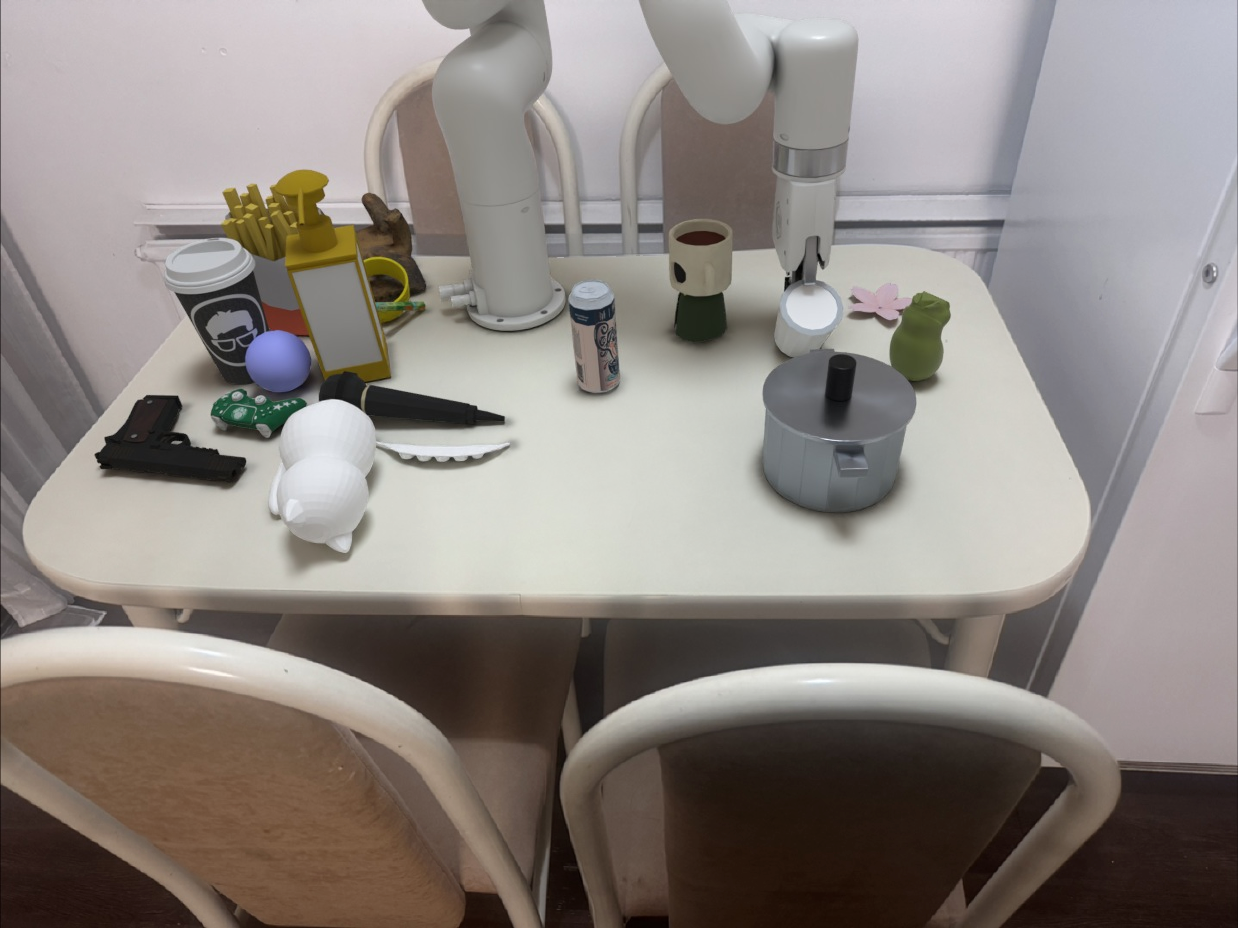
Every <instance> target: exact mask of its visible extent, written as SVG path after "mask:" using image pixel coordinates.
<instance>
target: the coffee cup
mask: <svg viewBox="0 0 1238 928" xmlns="http://www.w3.org/2000/svg"><path fill="white" fill-rule="evenodd" d="M164 265H165V269H164V271H163V280H164V286H165V288H166V289H168V290H169V291H171V292H173V293H174V294H175V296H176V298H177V299H178V301H179V303H180V305H181V306H182V308H183V310H184V312H185V313H186V316H187V317H188V319H189V320H190V322H191V324H192V326H193V327H194V329H195V331H196V333H197V335H198V336H199V338H200V341H201V342H202V343H203V345H204V347H205V349H206V351H207V352H208V355H209V357H210V358H211V360H212V362H213V363H214V365H215V367H216V368H217V371H218V372H219V374H220V376H221V377H222V379H223V380H224V381H225V382H226V383H228V384H232V385H249V384H252V383H255V382H254V381H253V380H252V378H251V377H250V375H249V373H248V371H247V368H246V364H245V356H246V352H247V349H248V347H249V345H250V344H251V342H252V341H253V340H254V339H255V338H256V337H258V336H259V335H261V334H263V333H265V332H268V331H270V328H269V327H268V323H267V320H266V316H265V312H264V309H263V305H262V301H261V298H260V294H259V290H258V287H257V283H256V279H255V275H254V271H253V269H254V267H255V260H254V258H253V257H252V255H251V254H250V253H249V252H248V251H247V250H246V249H245V248H243V247H242V246H241V245H240V243H239V242H237V241H235V240H233V239H228V238H226V237H212V238H205V239H201V240H197V241H193V242H190V243H188V244H185V245H182V246H180V247H179V248H177V249H175V250H174V251H172V252H171V253H170V254H169V255H168V256H167V258H166V259H165V262H164Z"/></svg>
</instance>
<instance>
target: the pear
mask: <svg viewBox="0 0 1238 928" xmlns="http://www.w3.org/2000/svg"><path fill="white" fill-rule="evenodd" d="M911 298H912V302H911V304H910V305H909V306H906V307H905V309H903V311H902V315H901V321H900V323H899V325H898V326H897V328H896V329H895V330H894V332H893V333H892V336H891V338H890V342H889V362H890V366H891V367H892V368H894V369H896V370H897V371H898V372H900V373H901V374H902V375H903V376H904V377H905V378H906V379H907V380H908V381H911V382H912V381H913V382H919V381H920V382H921V381H925V380H927V379H929V378H931V377H932V376H933V375H935V374H936V373H937V372H938V370H939V369H940V367H941V365H942V363H943V360H944V353H945V349H944V348H945V347H944V343H943V341H942V333H943V330H944V328H945V326H947V324H948V323H949V322H950V320H951V318H952V314H951V310H950V309H951V304H950V302H949V301H947V300H946V299H944V298H941V297H939V296H936V295H934V294H931V293H930V292H928V291H925V290H924V291H921V292H916V294H915V295H913V296H912V297H911Z"/></svg>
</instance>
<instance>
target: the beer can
mask: <svg viewBox="0 0 1238 928" xmlns="http://www.w3.org/2000/svg"><path fill="white" fill-rule="evenodd" d="M567 299H568V309H569V310H568V311H569V317H570V328H571V335H572V336H571V337H572V345H573V355H574V363H575V364H574V365H575V374H576V382H577V385H578V387H580V389H582V390H584V391H586V392H589V393H593V394H602V393H605V392H609V391H611V390H613V389H614V388H616V387H617V386H618V385H619V384H620V381H621V373H620V372H621V371H620V370H621V369H620V359H619V358H620V357H619V344H618V343H619V341H618V330H617V315H616V301H615V294H614V292H613V291H612V289H611V287H610V286H609V285H608V284H607V282H605V281H604V280H600V279H587V280H582V281H580V282H578V283H576V284H574V285H573V287H572V289H571V292H570V294H569V296H568V298H567Z"/></svg>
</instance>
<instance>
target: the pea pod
mask: <svg viewBox="0 0 1238 928" xmlns="http://www.w3.org/2000/svg"><path fill="white" fill-rule="evenodd" d="M376 445H379V446H382V447H385V448H387V449H389V450H391V451H394V452H396V453H398V455H399V456H400V458H401V459H402V460H411V459H413V458H414V457H415V456H416V458H417V459H418V461H420V462H428V461H431V459H432V458H435V460H436V461H437V462H439V463H440V462H441V463H443V462H444V463H445V462H447V461H449V460H450V458H453V459H454V460H455V462H464V461H466V460H467V459H468V458H469V457H472V458H473V459H481V458H483V456H484V454H488V453H492V452H495V451H499V450H501V449H504V448H505V447H508V446H510V445H511V443H510V442H509V441H508V442H504V443H500V444H465V445H463V444H462V445H425V444H424V445H423V444H412V443H411V444H410V443H389V442H388V443H385V442H381V441H377V440H376Z"/></svg>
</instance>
